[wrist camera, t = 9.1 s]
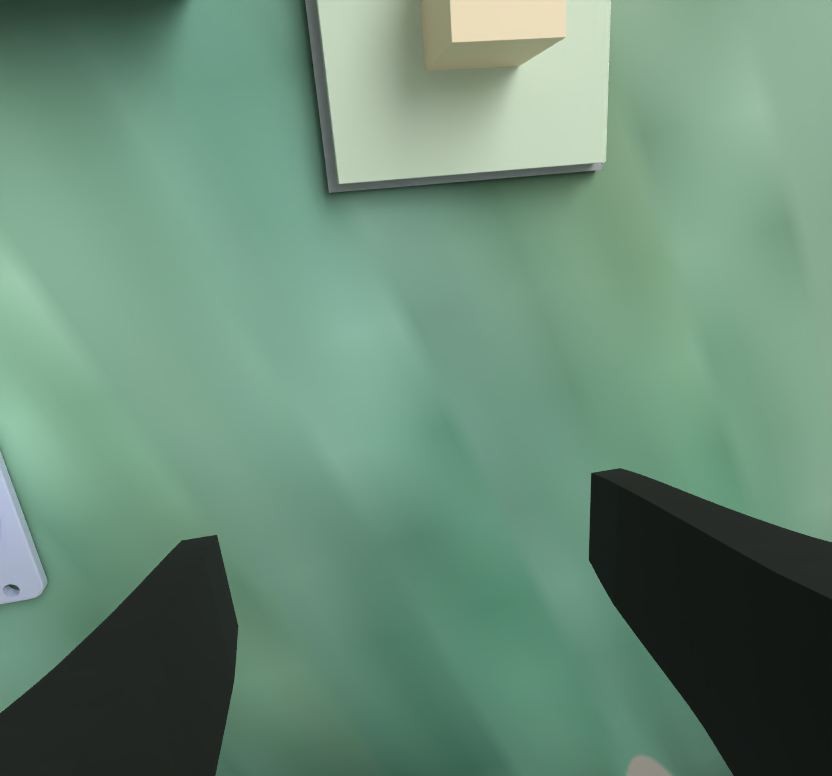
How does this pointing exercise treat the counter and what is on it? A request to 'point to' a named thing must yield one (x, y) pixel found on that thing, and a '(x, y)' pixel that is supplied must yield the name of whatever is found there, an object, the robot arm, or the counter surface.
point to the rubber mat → (335, 187)
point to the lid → (464, 85)
